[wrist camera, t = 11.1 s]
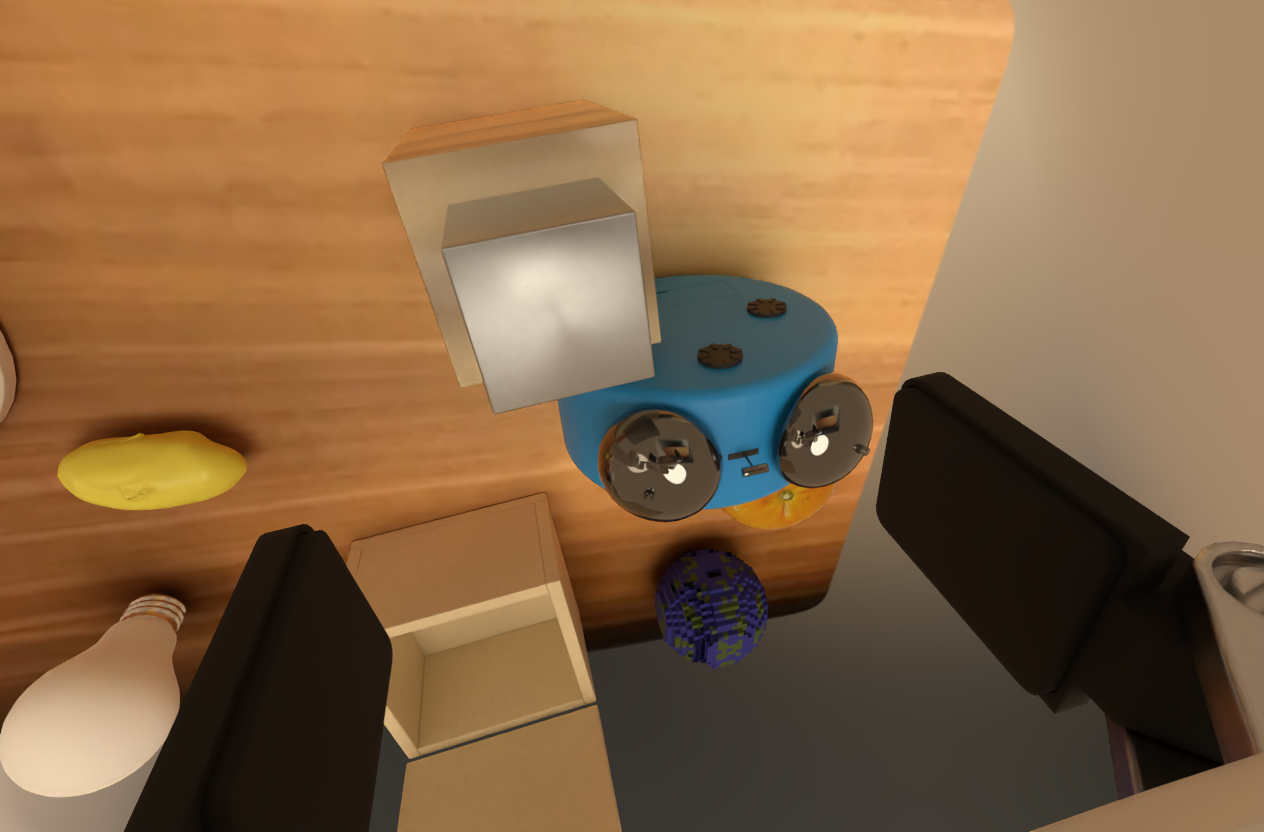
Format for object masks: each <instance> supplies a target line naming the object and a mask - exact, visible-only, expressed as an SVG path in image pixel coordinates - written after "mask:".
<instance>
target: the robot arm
mask: <svg viewBox="0 0 1264 832" xmlns="http://www.w3.org/2000/svg"><path fill="white" fill-rule="evenodd" d="M16 380H17V379H16V373H15V367H14V362H13V356H12V354H11V352H10V350H9V347H8V345H7V343H6V341H5V338H4V336H3V334H2V332H1V331H0V423H1V422H2V421H3V420H4V419H5V418H6V415H7V413H8V411H9V409H10V407H11V405H12V403H13V401H14V396H15V388H16ZM876 511H877V516H878V519H879V521H880V523H881V524H882V526H883V527H884V528H885V529H886V531H887V532H888V533H889V534H890V535H891V536H892V538H893V539H894V540H895V541H896V542H897V543H898V544H899V545H900V547H901V548H902V549H903V550H904V551H905V553H906V554H907V555H908V556H909V557H910V558H911V560H912V561H913V562H914V563H915V564H916V565H917V566H918V568H919V569H920V570H921V571H922V572H923V573H924V575H925V576H926V577H927V578H928V579H929V580H930V582H931V583H932V584H933V585H934V586H935V587H936V588H937V590H938V591H939V592H940V593H941V594H942V595H943V597H944V598H945V599H946V600H947V601H948V602H949V603H950V605H951V606H952V607H953V608H954V609H955V610H956V612H958V614H959V615H960V616H961V617H962V619H963V620H964V621H965V622H966V623H967V624H968V626H969V627H970V628H971V629H972V630H973V631H974V632H975V633H976V635H977V636H978V637H979V638H980V639H981V640H982V642H983V643H984V644H985V645H986V646H987V647H988V649H989V650H990V651H991V652H992V653H993V654H994V656H995V657H996V658H997V659H998V660H999V661H1000V663H1001V664H1002V665H1003V666H1004V667H1005V668H1006V669H1007V671H1008V672H1009V673H1010V674H1011V675H1012V676H1013V678H1014V679H1015V680H1016V681H1017V682H1018V683H1019V684H1020V685H1021V686H1022V687H1023V688H1024V689H1025V690H1026V691H1027V692H1029V693H1031V694H1033V695H1039V696H1040V698H1041V699H1042V700H1043V701H1044V702H1045V703H1046V704H1047V706H1048V707H1049V708H1050V709H1051V710H1052V711H1053V712H1054V714H1056V713H1059V712H1062V711H1065V710H1068V709H1071V708H1074V707H1077V706H1080V705H1083V704H1086V703H1088V701H1089V699H1090V698H1091V699H1092V700H1093V701H1094V702H1095V703H1096V704H1097V705H1098V706H1099V707H1100V709H1102V711H1103V712H1104V713H1105V717H1106V722H1107V729H1108V736H1109V743H1110V749H1111V755H1112V762H1113V768H1114V775H1115V781H1116V787H1117V794H1118V801H1115V802H1113V803H1110V804H1107V805H1104V806H1101V807H1098V808H1096V809H1093V810H1090V811H1087V812H1084V813H1081V814H1079V815H1076V816H1073V817H1070V818H1067V819H1065V820H1061V821H1059V822H1056V823H1053V824H1050V825H1047V826H1045V827H1042V828H1039V829H1036V830H1033V831H1030V832H1264V546H1262V545H1258V544H1251V543H1243V542H1234V541H1233V542H1221V543H1214V544H1212V545H1210V546H1207V547H1205V548H1202V549H1201V551H1200V552H1199V553H1198V555H1197V556H1196V557H1195V559H1194V558H1192V557H1191V556H1190V555H1188V554H1187V553H1185V552H1184V551H1182V549H1183V547H1184V546H1185V544H1186V542H1187V541H1188V539H1189V536H1188V535H1186V534H1185V533H1183V532H1182V531H1180V530H1179V529H1177V528H1176V527H1174V526H1173V525H1171V524H1170V523H1169V522H1167V521H1166V520H1164V519H1163V518H1161V517H1160V516H1158V515H1156V514H1155V513H1154V512H1152V511H1151V510H1149V509H1148V508H1146V507H1145V506H1143V505H1142V504H1140V503H1139V502H1137V501H1136V500H1134V499H1133V498H1131V497H1130V496H1128V495H1127V494H1125V493H1124V492H1123V491H1121V490H1119V489H1118V488H1116V487H1115V486H1114V485H1112V484H1110V483H1109V482H1108V481H1106V480H1105V479H1103V478H1102V477H1100V476H1099V475H1097V474H1096V473H1094V472H1093V471H1091V470H1090V469H1088V468H1087V467H1085V466H1084V465H1082V464H1081V463H1080V462H1078V461H1077V460H1075V459H1074V458H1072V457H1071V456H1069V455H1068V454H1066V453H1065V452H1063V451H1062V450H1060V449H1059V448H1057V447H1056V446H1054V445H1053V444H1051V443H1050V442H1048V441H1047V440H1045V439H1044V438H1042V437H1041V436H1039V435H1038V434H1036V433H1035V432H1033V431H1032V430H1031V429H1029V428H1028V427H1026V426H1025V425H1023V424H1021V423H1020V422H1019V421H1017V420H1016V419H1014V418H1013V417H1011V416H1010V415H1008V414H1007V413H1005V412H1004V411H1002V410H1001V409H999V408H998V407H996V406H995V405H993V404H992V403H990V402H989V401H987V400H986V399H984V398H983V397H982V396H980V395H978V394H977V393H976V392H974V391H972V390H971V389H970V388H968V387H967V386H965V385H964V384H962V383H961V382H959V381H958V380H956V379H955V378H953V377H952V376H950V375H949V374H946V373H944V372H936V373H933V374H928V375H924V376H920V377H916V378H911V379H909V380H906V381H905V382H904V384H903V385H902V388H901V390H899V391H898V392H897V393H896V394H895V397H894V401H893V407H892V413H891V419H890V425H889V431H888V437H887V443H886V450H885V455H884V461H883V467H882V473H881V479H880V485H879V491H878V497H877V504H876ZM392 662H393V650H392V644H391V641H390V638H389V636H388V634H387V632H386V631H385V629H384V627H383V626H382V624H381V622H380V621H379V619H378V617H377V616H376V614H375V612H374V611H373V609H372V607H371V606H370V604H369V602H368V601H367V599H366V597H365V596H364V594H363V592H362V591H361V589H360V587H359V586H358V584H357V582H356V581H355V579H354V577H353V576H352V574H351V573H350V571H349V569H348V568H347V566H346V564H345V563H344V561H343V559H342V558H341V556H340V554H339V553H338V551H337V549H336V548H335V546H334V544H333V543H332V541H331V539H330V538H329V536H328V535H327V533H326V532H324V531H323V530H318V531H314V530H313V529H312V527H310V526H309V525H307V524H302V525H297V526H293V527H289V528H285V529H281V530H277V531H272V532H268V533H265V534H263V535H261V536H260V537H259V539H258V540H257V542H256V544H255V546H254V548H253V551H252V553H251V555H250V557H249V559H248V561H247V564H246V566H245V568H244V570H243V572H242V575H241V577H240V579H239V581H238V583H237V586H236V588H235V590H234V592H233V594H232V597H231V599H230V601H229V603H228V605H227V607H226V610H225V612H224V614H223V616H222V618H221V621H220V623H219V625H218V627H217V629H216V632H215V634H214V636H213V638H212V640H211V643H210V645H209V647H208V649H207V651H206V654H205V655H204V657H203V659H202V662H201V664H200V666H199V668H198V670H197V673H196V675H195V677H194V679H193V681H192V683H191V686H190V688H189V690H188V692H187V694H186V697H185V699H184V701H183V703H182V705H181V708H180V710H179V712H178V714H177V716H176V719H175V721H174V723H173V725H172V727H171V729H170V732H169V734H168V736H167V738H166V740H165V743H164V745H163V747H162V749H161V751H160V754H159V756H158V758H157V760H156V762H155V765H154V767H153V769H152V771H151V774H150V775H149V778H148V780H147V782H146V784H145V786H144V789H143V791H142V793H141V795H140V797H139V800H138V802H137V804H136V806H135V808H134V810H133V813H132V815H131V817H130V819H129V821H128V824H127V826H126V828H125V830H124V832H369V824H370V817H371V810H372V803H373V796H374V789H375V782H376V775H377V768H378V761H379V754H380V746H381V740H382V733H383V725H384V718H385V711H386V704H387V697H388V690H389V683H390V676H391V669H392Z"/></svg>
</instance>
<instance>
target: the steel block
mask: <svg viewBox="0 0 1264 832" xmlns="http://www.w3.org/2000/svg"><path fill="white" fill-rule="evenodd" d="M441 252H442V255H443V258H444V261H445V264H446V267H447V270H448V274H449V277H450V280H451V283H452V286H453V289H454V292H455V295H456V298H457V302H458V305H459V308H460V311H461V314H462V317H463V320H464V323H465V327H466V330H467V333H468V336H469V339H470V342H471V345H472V348H473V351H474V355H475V358H476V361H477V364H478V367H479V370H480V373H481V376H482V379H483V383H484V386H485V389H486V392H487V395H488V398H489V401H490V404H491V407H492V411H493V413H494V414H499V413H503V412H507V411H512V410H516V409H520V408H524V407H529V406H533V405H537V404H541V403H545V402H550V401H554V400H558V399H562V398H567V397H571V396H575V395H579V394H584V393H588V392H592V391H596V390H601V389H605V388H609V387H613V386H617V385H622V384H626V383H630V382H634V381H639V380H643V379H647V378H651V377H654V376H655V369H654V361H653V353H652V344H651V336H650V328H649V319H648V311H647V303H646V294H645V286H644V278H643V269H642V261H641V253H640V244H639V236H638V228H637V219H636V212H635V210H633V209H632V208H631V207H630V206H629V205H628V204H627V203H626V202H625V201H624V200H623V199H622V198H620V197H619V196H618V195H617V194H616V193H615V192H614V191H613V190H612V189H611V188H610V187H609V186H608V185H606V184H605V183H604V182H603V181H602V180H601V179H600V178H592V179H587V180H582V181H576V182H571V183H565V184H560V185H555V186H549V187H544V188H539V189H533V190H528V191H523V192H517V193H512V194H506V195H501V196H496V197H490V198H485V199H480V200H474V201H469V202H464V203H458V204H453V205H449V206H448V208H447V214H446V221H445V227H444V234H443V241H442V247H441Z"/></svg>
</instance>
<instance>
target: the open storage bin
mask: <svg viewBox="0 0 1264 832" xmlns="http://www.w3.org/2000/svg"><path fill="white" fill-rule="evenodd" d="M346 566H347V568H348V569H349V571H350V573H351V574H352V576H353V577H354V579H355V581H356V582H357V584H358V586H359V587H360V589H361V591H362V592H363V594H364V596H365V597H366V599H367V601H368V602H369V604H370V606H371V607H372V609H373V611H374V612H375V614H376V616H377V617H378V619H379V621H380V622H381V624H382V626H383V627H384V629H385V631H386V632H387V634H388V636H389V638H390V641H391V644H392V650H393V662H392V669H391V676H390V683H389V690H388V697H387V704H386V711H385V718H384V724H385V725H386V727H387V729H388V730H389V731H390V732H391V734H392V736H393V737H394V738H395V740H396V741H397V742H398V744H399V745H400V746H401V748H402V749H403V751H404V752H405V754H406V755H407V756H408V757H409V759H411V758H414V757H418V756H421V755H424V754H427V753H430V752H434V751H437V750H440V749H443V748H447V747H450V746H453V745H456V744H460V743H463V742H466V741H469V740H473V739H476V738H479V737H482V736H486V735H488V734H492V733H495V732H499V731H502V730H505V729H508V728H511V727H515V726H518V725H521V724H524V723H528V722H531V721H534V720H537V719H540V718H544V717H547V716H550V715H553V714H556V713H560V712H563V711H566V710H569V709H573V708H576V707H579V706H583V705H585V704H589V703H593V702H596V696H595V691H594V686H593V681H592V676H591V671H590V665H589V660H588V655H587V650H586V645H585V640H584V635H583V630H582V625H581V620H580V615H579V610H578V606H577V603H576V599H575V596H574V592H573V589H572V585H571V582H570V578H569V575H568V571H567V568H566V564H565V561H564V557H563V554H562V550H561V547H560V543H559V540H558V536H557V533H556V529H555V526H554V522H553V519H552V515H551V512H550V508H549V505H548V501H547V498H546V494H545V493H540V494H536V495H532V496H528V497H525V498H521V499H517V500H513V501H509V502H505V503H501V504H497V505H493V506H490V507H486V508H482V509H478V510H474V511H470V512H466V513H462V514H458V515H454V516H451V517H447V518H443V519H439V520H435V521H431V522H427V523H423V524H419V525H416V526H412V527H408V528H404V529H400V530H396V531H392V532H388V533H384V534H381V535H377V536H373V537H369V538H365V539H361V540H357V541H353V542H352V545H351V549H350V553H349V557H348V561H347V565H346Z"/></svg>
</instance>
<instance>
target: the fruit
mask: <svg viewBox="0 0 1264 832" xmlns="http://www.w3.org/2000/svg"><path fill="white" fill-rule="evenodd" d="M837 484H838V482H836V483H834V484H831V485H829V486H826V487H820V488H814V489H810V488H802V487H798V486H796V485H793V484H789V485H787V486H785V487H784V488H782V489H780V490H778V491H776V492H774V493H772V494H770V495H768V496H765V497H763V498H760V499H757V500H754V501H751V502H747V503H743V504H740V505H735V506H729V507H723V508H721V509H722V510H723V511H725V512H726V513H727V514H728V515H730V516H731V517H732V518H734V519H735V520H737V521H739V522H741V523H743V524H745V525H747V526H750V527H754V528H759V529H780V528H785V527H789V526H792V525H795V524H797V523H800V522H802V521H804V520H806V519H807V518H809V517H810V516H812V515H813V514H814V513H816V512H817V511H818V510H819V509H820V508H821V507H822V506H823V505H824V504H825V503H826V502H827V500H828V499H829V498H830V497H831V496H832V494H833V493H834V491H835V489H836V487H837Z"/></svg>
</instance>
